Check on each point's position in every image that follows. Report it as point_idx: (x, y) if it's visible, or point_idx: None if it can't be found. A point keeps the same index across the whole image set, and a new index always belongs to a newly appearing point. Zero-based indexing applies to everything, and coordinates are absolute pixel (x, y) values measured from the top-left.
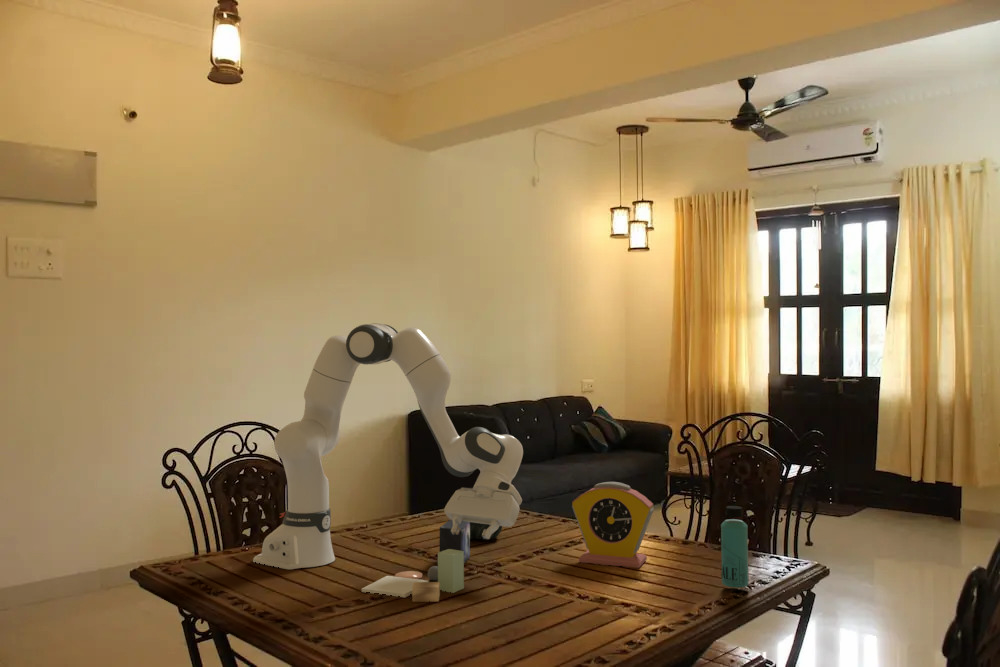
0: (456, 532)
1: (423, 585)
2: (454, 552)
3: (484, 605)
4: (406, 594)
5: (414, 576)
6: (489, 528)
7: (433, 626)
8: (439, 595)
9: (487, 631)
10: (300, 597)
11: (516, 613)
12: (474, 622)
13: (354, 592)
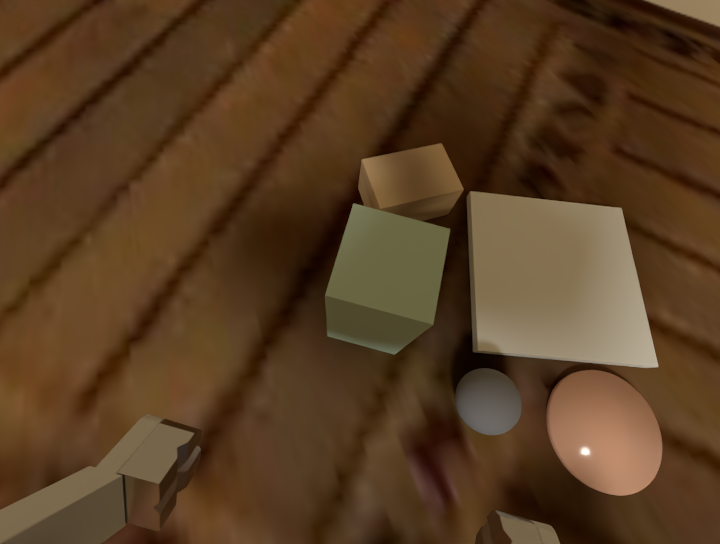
0: (492, 535)
1: (416, 164)
2: (365, 254)
3: (207, 185)
4: (469, 199)
5: (570, 410)
6: (79, 481)
7: (298, 38)
8: None
9: (164, 32)
10: (712, 142)
11: (98, 143)
12: (207, 71)
13: (628, 206)
